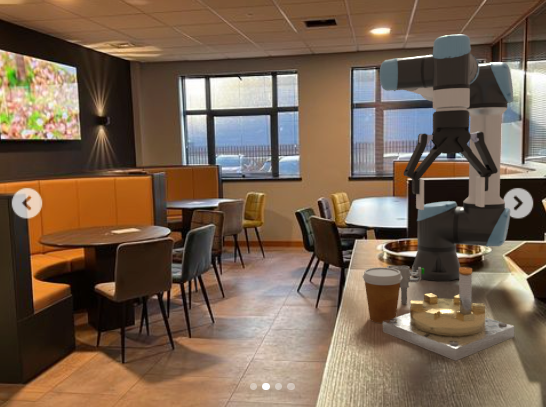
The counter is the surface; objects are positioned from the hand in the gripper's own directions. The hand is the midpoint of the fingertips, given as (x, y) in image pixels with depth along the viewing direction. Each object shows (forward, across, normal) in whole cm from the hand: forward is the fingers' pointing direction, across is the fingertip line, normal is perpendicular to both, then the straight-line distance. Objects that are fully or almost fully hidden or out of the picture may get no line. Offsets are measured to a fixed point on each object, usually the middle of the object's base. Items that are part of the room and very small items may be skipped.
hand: (450, 207), depth 115 cm
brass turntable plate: (+26, +1, +1) cm, 26 cm away
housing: (+29, +1, +1) cm, 29 cm away
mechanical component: (+29, +3, -22) cm, 36 cm away
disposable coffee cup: (+29, +12, -11) cm, 33 cm away
